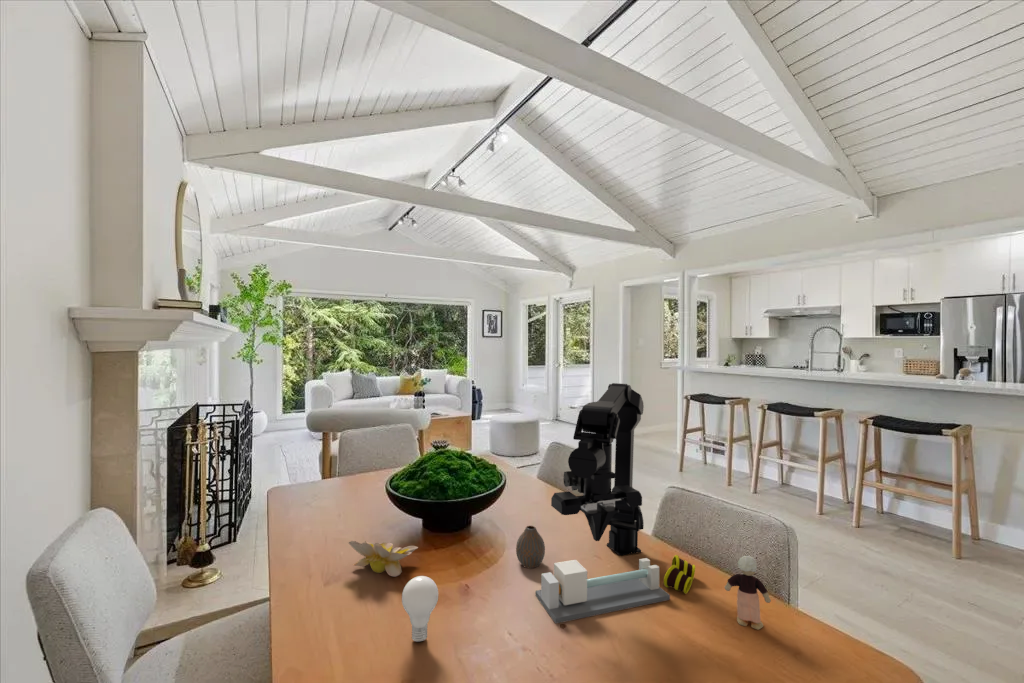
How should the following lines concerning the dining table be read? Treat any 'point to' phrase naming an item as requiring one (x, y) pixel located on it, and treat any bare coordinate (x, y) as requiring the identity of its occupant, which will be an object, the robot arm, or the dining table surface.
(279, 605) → the dining table surface
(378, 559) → the decorative flower
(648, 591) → the linear slide rail
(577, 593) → the white square tube
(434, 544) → the dining table surface
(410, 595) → the lightbulb
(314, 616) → the dining table surface
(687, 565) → the opera glasses
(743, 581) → the grandmother figurine
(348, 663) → the dining table surface
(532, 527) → the vase
